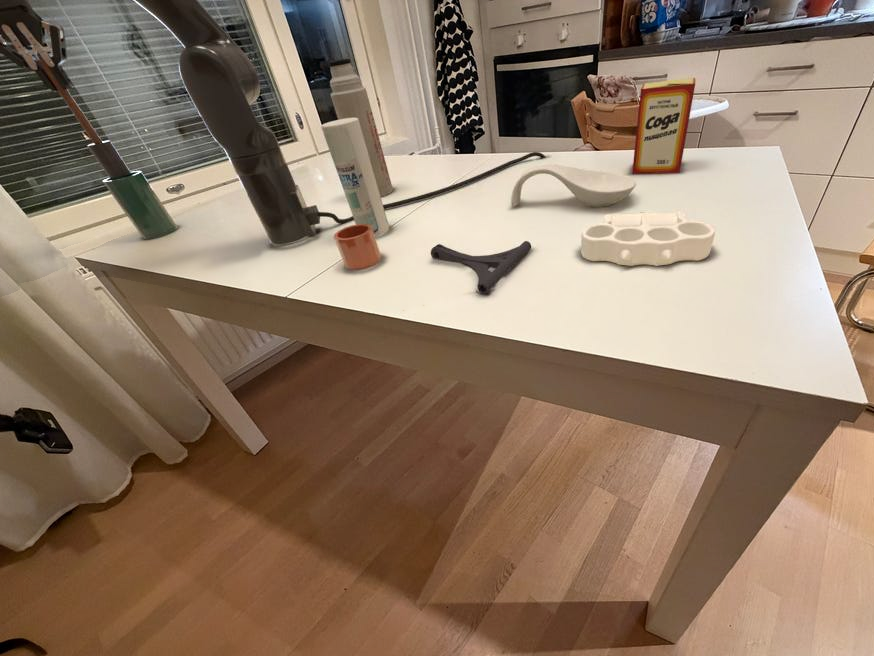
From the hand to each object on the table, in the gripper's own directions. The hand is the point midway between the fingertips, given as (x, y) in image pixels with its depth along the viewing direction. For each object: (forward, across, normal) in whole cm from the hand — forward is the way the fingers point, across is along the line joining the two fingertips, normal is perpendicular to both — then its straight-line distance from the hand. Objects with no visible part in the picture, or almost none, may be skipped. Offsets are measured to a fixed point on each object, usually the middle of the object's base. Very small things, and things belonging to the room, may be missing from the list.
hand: (62, 90), depth 82 cm
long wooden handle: (+17, 0, 0) cm, 17 cm away
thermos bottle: (+31, -57, +10) cm, 66 cm away
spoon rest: (+31, -93, +48) cm, 109 cm away
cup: (+31, 0, -1) cm, 31 cm away
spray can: (+31, -54, +38) cm, 73 cm away
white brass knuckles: (+31, -93, +72) cm, 121 cm away
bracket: (+31, -68, +62) cm, 97 cm away
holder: (+31, -51, +52) cm, 79 cm away
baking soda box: (+31, -117, +41) cm, 128 cm away
